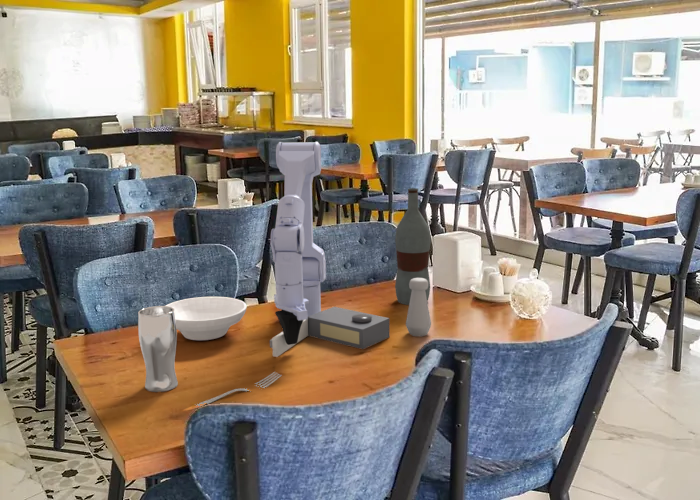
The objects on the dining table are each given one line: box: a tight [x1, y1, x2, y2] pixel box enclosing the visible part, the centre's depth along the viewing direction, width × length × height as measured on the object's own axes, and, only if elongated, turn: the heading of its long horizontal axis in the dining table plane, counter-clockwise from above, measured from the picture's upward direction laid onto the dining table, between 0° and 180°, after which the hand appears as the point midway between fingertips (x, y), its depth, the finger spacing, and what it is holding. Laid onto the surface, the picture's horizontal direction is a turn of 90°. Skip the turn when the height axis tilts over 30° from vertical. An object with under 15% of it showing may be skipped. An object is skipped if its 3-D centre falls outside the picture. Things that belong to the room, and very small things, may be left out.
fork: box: [195, 371, 283, 406], centre depth 136 cm, size 3×24×2 cm, turn 132°
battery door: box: [269, 319, 309, 358], centre depth 163 cm, size 16×2×4 cm, turn 157°
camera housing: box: [307, 306, 390, 350], centre depth 168 cm, size 16×10×5 cm, turn 52°
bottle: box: [394, 187, 431, 306], centre depth 194 cm, size 9×9×30 cm
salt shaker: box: [405, 278, 432, 337], centre depth 169 cm, size 6×6×13 cm
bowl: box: [165, 296, 247, 341], centre depth 170 cm, size 20×20×7 cm
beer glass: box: [137, 305, 179, 393], centre depth 140 cm, size 7×7×15 cm
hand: (291, 343), depth 158 cm, fingers closed
